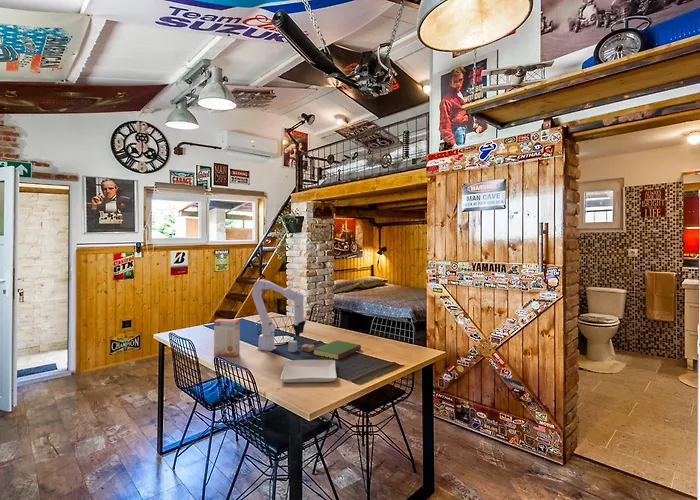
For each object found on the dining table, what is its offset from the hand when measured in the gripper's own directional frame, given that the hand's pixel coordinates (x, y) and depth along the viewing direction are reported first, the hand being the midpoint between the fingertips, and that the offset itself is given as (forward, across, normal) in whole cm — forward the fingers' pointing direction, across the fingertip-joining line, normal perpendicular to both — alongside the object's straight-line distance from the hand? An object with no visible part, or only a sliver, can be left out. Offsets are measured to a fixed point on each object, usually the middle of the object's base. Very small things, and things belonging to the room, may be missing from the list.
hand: (299, 334), depth 238 cm
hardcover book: (+12, +1, -24) cm, 27 cm away
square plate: (+11, -41, -17) cm, 46 cm away
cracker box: (+9, -18, +40) cm, 44 cm away
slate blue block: (+10, -3, +4) cm, 11 cm away
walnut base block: (+10, +1, -5) cm, 12 cm away
